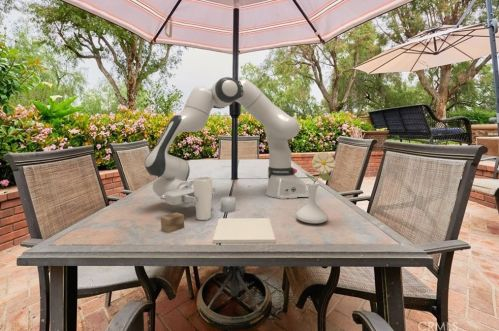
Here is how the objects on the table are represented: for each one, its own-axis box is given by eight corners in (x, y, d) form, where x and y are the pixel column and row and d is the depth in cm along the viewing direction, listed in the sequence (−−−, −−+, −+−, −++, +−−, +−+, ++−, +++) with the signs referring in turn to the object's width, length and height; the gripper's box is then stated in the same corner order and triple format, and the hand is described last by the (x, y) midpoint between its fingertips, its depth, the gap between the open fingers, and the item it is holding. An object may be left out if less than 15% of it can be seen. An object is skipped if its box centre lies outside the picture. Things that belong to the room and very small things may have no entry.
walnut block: (177, 225, 86) (176, 212, 86) (184, 228, 84) (183, 214, 83) (161, 230, 82) (160, 217, 81) (168, 233, 79) (167, 219, 79)
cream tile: (269, 221, 90) (269, 218, 90) (275, 242, 72) (275, 239, 72) (219, 221, 90) (219, 218, 90) (212, 243, 72) (212, 239, 72)
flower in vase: (292, 223, 87) (294, 152, 84) (298, 214, 98) (300, 150, 95) (332, 229, 83) (335, 153, 80) (333, 218, 94) (336, 150, 90)
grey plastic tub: (235, 208, 106) (235, 196, 105) (235, 212, 100) (235, 200, 99) (221, 208, 106) (221, 196, 105) (220, 212, 100) (219, 200, 99)
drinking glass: (190, 218, 93) (189, 178, 91) (205, 214, 98) (204, 176, 96) (201, 223, 88) (200, 180, 86) (216, 218, 93) (216, 178, 91)
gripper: (157, 188, 91) (180, 194, 83) (201, 180, 107) (224, 184, 99) (158, 205, 92) (181, 213, 84) (201, 194, 108) (224, 200, 99)
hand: (204, 197), depth 91 cm, fingers closed on drinking glass, 6 cm apart
